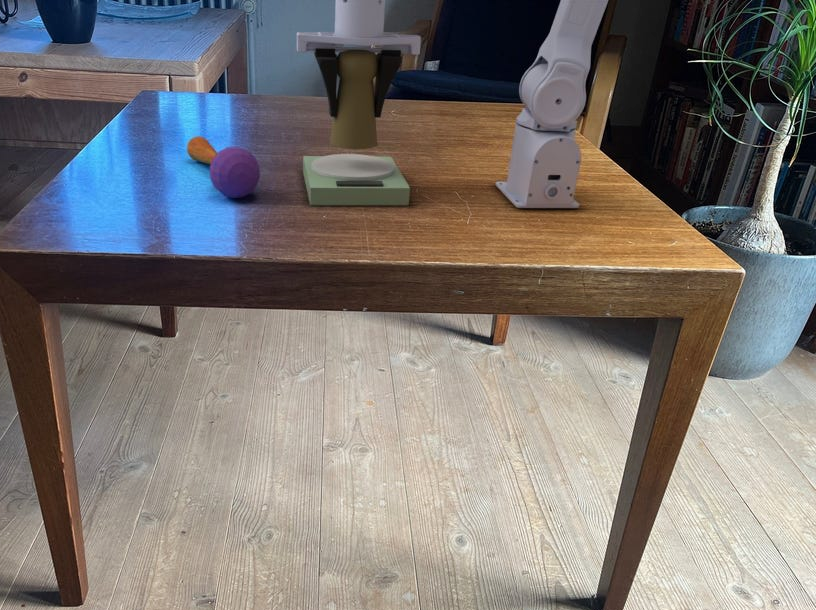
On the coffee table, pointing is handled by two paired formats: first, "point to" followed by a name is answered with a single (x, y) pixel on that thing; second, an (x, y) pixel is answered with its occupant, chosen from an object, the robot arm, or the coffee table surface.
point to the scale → (354, 180)
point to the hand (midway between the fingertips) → (355, 115)
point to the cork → (355, 101)
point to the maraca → (227, 167)
